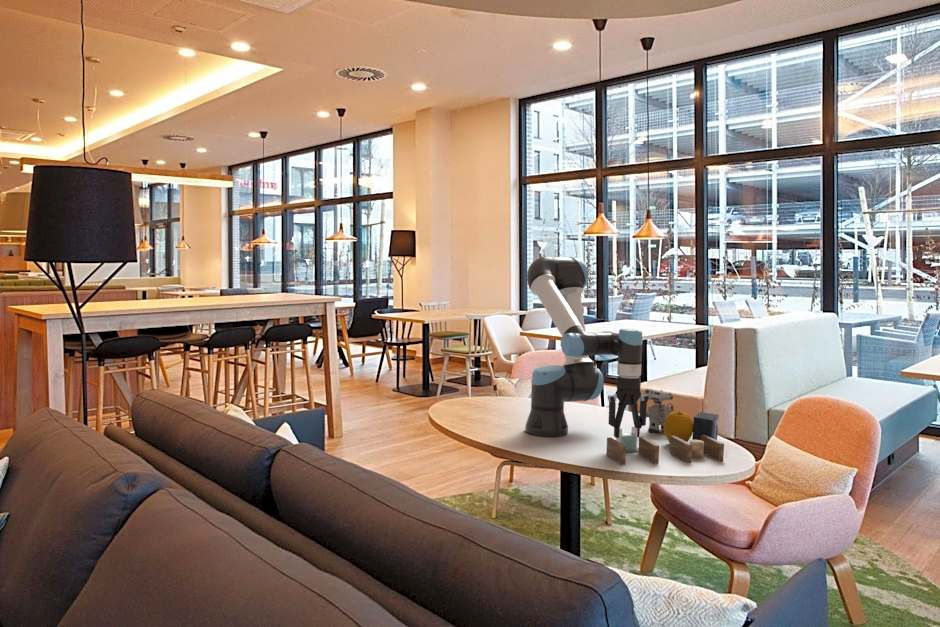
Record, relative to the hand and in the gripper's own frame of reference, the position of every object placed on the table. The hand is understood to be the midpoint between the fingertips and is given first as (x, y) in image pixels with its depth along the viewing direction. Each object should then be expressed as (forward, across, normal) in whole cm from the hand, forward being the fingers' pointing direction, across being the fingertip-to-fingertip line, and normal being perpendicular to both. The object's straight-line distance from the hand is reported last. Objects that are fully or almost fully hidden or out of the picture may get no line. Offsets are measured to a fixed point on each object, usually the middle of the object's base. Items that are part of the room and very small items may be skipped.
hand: (626, 447), depth 224 cm
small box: (+1, +29, +1) cm, 29 cm away
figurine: (+1, +22, +23) cm, 32 cm away
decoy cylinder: (+1, +19, -11) cm, 22 cm away
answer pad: (+1, 0, 0) cm, 1 cm away
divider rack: (+1, +8, -11) cm, 13 cm away
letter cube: (0, 0, 0) cm, 0 cm away
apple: (+1, +20, +3) cm, 20 cm away
